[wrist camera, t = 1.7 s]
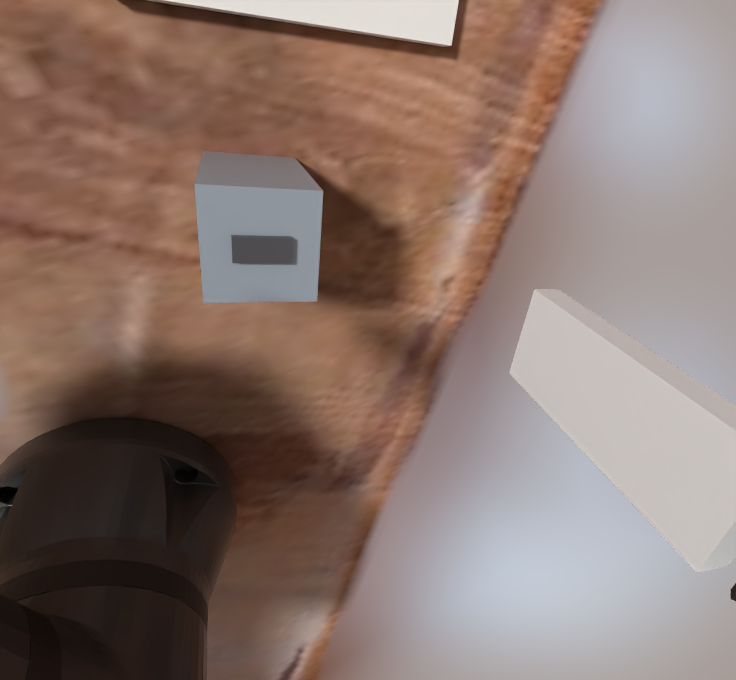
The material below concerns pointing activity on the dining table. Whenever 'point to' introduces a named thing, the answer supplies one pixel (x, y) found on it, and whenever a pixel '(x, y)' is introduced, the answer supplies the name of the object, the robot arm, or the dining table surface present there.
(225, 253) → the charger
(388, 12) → the charging dock
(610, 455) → the robot arm
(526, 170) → the dining table surface
